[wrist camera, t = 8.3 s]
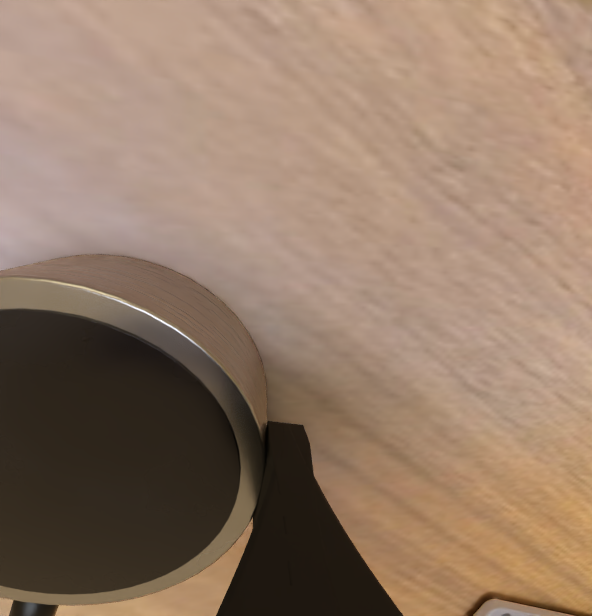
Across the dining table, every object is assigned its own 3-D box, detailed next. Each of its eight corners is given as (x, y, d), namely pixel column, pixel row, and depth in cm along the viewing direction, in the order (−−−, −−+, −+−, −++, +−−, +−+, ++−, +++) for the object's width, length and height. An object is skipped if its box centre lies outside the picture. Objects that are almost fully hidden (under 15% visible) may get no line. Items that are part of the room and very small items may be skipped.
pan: (311, 325, 9) (332, 377, 6) (166, 614, 13) (137, 732, 10) (-10, 195, 7) (-193, 183, 4) (-75, 576, 11) (-199, 708, 8)
